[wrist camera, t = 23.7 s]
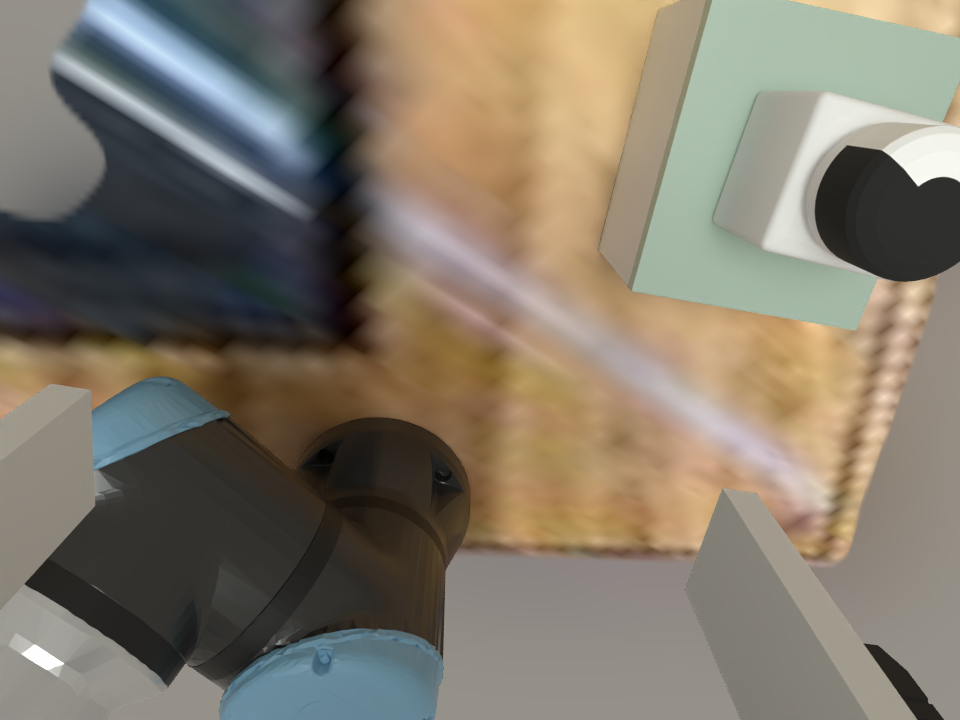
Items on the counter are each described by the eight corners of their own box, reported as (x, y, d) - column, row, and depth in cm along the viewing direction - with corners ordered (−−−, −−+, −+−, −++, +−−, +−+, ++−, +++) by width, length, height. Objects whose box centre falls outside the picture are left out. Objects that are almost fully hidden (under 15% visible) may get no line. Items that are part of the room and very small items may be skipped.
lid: (846, 325, 41) (855, 330, 40) (627, 286, 40) (631, 291, 39) (962, 42, 35) (975, 41, 34) (709, -13, 34) (716, -16, 33)
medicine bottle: (825, 250, 38) (972, 316, 27) (708, 222, 38) (810, 278, 26) (880, 122, 36) (1068, 137, 25) (757, 89, 35) (892, 88, 24)
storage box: (777, 282, 50) (846, 325, 41) (598, 249, 49) (627, 286, 40) (860, 52, 45) (962, 42, 35) (658, 9, 43) (709, -13, 34)
